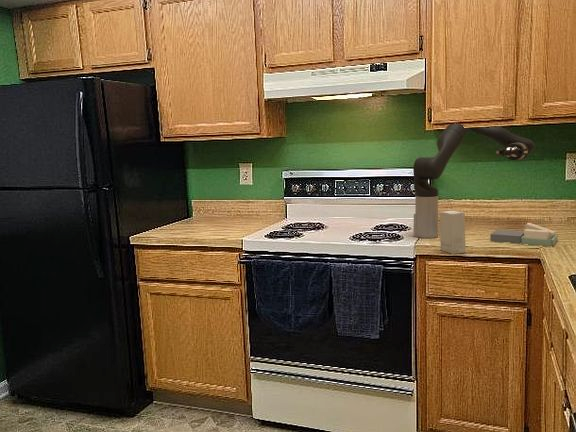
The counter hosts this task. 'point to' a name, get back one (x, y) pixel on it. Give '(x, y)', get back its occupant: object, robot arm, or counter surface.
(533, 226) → the beige rectangular block
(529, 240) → the tray
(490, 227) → the counter surface
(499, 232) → the board
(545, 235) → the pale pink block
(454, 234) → the skincare box
